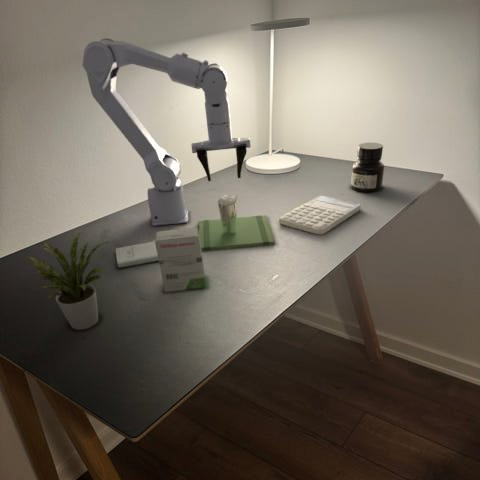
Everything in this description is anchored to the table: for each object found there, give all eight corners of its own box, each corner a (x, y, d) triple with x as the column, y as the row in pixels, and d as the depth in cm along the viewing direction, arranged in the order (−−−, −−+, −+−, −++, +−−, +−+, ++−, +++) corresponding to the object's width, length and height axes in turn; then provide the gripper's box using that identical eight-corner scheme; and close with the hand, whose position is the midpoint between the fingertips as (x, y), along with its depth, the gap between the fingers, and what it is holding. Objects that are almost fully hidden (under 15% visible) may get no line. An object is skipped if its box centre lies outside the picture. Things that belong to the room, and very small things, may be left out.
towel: (199, 251, 106) (198, 247, 105) (199, 223, 119) (198, 220, 118) (274, 244, 106) (274, 241, 106) (266, 218, 119) (266, 214, 119)
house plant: (116, 290, 93) (97, 216, 84) (137, 323, 83) (117, 243, 73) (46, 312, 88) (17, 236, 78) (58, 350, 78) (27, 268, 68)
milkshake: (233, 238, 108) (231, 198, 102) (216, 233, 111) (213, 194, 105) (245, 231, 111) (242, 192, 105) (228, 227, 114) (225, 188, 108)
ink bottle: (343, 188, 134) (346, 146, 127) (361, 180, 138) (365, 139, 131) (371, 195, 128) (376, 152, 121) (388, 186, 132) (394, 144, 125)
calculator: (277, 224, 116) (277, 217, 114) (319, 199, 127) (320, 193, 126) (321, 236, 108) (321, 229, 107) (362, 209, 120) (362, 202, 119)
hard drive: (173, 259, 103) (118, 269, 101) (167, 244, 110) (116, 253, 107) (171, 252, 102) (117, 262, 100) (166, 238, 109) (115, 247, 106)
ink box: (205, 276, 96) (199, 225, 89) (206, 289, 92) (199, 235, 85) (164, 281, 95) (155, 229, 88) (164, 293, 91) (154, 240, 84)
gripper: (188, 129, 104) (196, 186, 112) (250, 123, 104) (253, 180, 112) (189, 122, 110) (196, 177, 118) (247, 116, 110) (251, 171, 118)
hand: (224, 178), depth 116 cm, fingers open, 7 cm apart
